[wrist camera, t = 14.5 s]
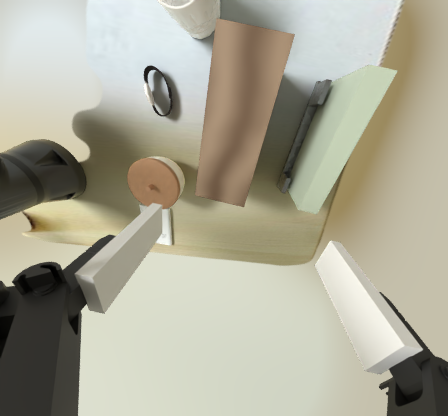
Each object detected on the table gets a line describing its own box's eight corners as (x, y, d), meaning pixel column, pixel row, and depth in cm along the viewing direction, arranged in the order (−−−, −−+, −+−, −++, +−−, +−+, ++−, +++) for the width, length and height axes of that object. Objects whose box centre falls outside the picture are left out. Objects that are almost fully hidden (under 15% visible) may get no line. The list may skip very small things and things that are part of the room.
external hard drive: (171, 206, 44) (173, 242, 50) (142, 202, 45) (147, 237, 51) (168, 209, 43) (170, 246, 49) (138, 204, 44) (144, 241, 50)
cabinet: (211, 172, 38) (195, 195, 26) (230, 59, 28) (216, 18, 17) (245, 180, 37) (243, 207, 26) (276, 69, 28) (294, 34, 16)
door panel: (326, 84, 27) (369, 64, 17) (352, 89, 27) (409, 73, 17) (285, 185, 36) (298, 209, 26) (304, 190, 35) (324, 216, 26)
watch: (144, 72, 31) (131, 66, 27) (166, 65, 30) (157, 59, 27) (157, 118, 34) (148, 118, 31) (179, 114, 33) (171, 113, 30)
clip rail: (276, 185, 37) (280, 194, 33) (316, 82, 28) (328, 74, 23) (303, 192, 37) (310, 201, 32) (352, 89, 27) (371, 84, 23)
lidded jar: (200, 176, 38) (186, 191, 30) (173, 203, 43) (155, 222, 35) (164, 140, 36) (138, 147, 28) (139, 173, 40) (111, 186, 32)
